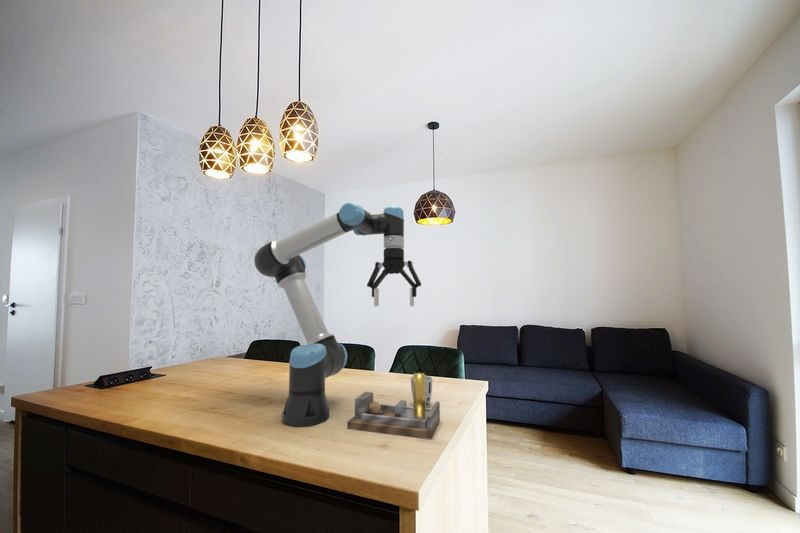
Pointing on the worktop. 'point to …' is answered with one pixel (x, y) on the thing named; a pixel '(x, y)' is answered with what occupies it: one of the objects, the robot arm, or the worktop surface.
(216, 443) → the worktop surface
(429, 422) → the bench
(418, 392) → the lever
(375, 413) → the nut
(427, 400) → the cup
